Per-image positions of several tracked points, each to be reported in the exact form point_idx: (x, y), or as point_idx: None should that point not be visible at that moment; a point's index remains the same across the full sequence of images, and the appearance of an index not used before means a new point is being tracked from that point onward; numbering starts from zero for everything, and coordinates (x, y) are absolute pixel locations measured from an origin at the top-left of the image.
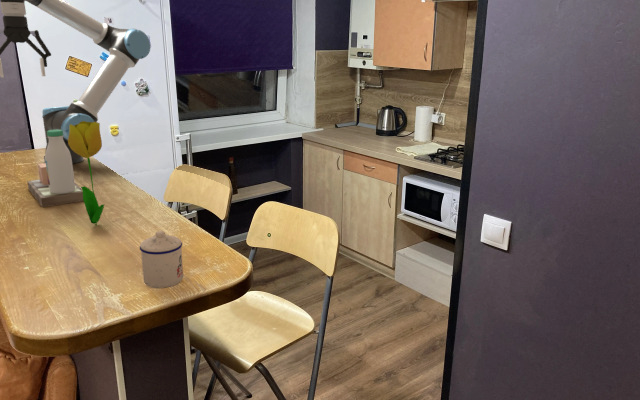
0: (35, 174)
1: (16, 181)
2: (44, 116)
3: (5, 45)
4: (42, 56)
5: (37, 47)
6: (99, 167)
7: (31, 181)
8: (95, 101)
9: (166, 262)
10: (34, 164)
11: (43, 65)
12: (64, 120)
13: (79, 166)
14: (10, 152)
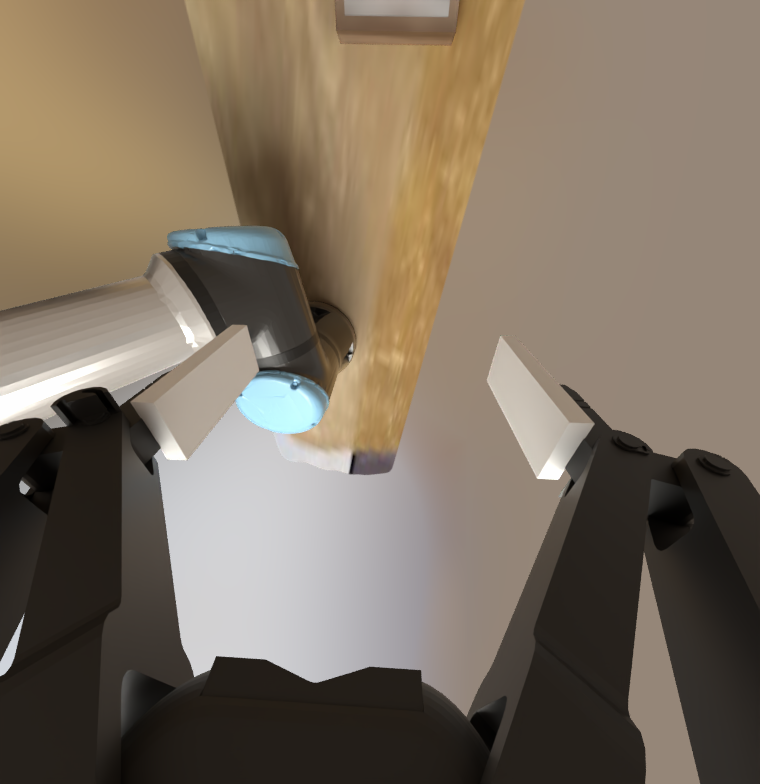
0: (392, 245)
1: (446, 191)
2: (324, 390)
3: (585, 601)
4: (119, 420)
5: (47, 528)
6: None
7: (449, 4)
8: (102, 287)
9: None
10: (374, 343)
11: (188, 363)
12: (268, 258)
13: None
14: (390, 448)
